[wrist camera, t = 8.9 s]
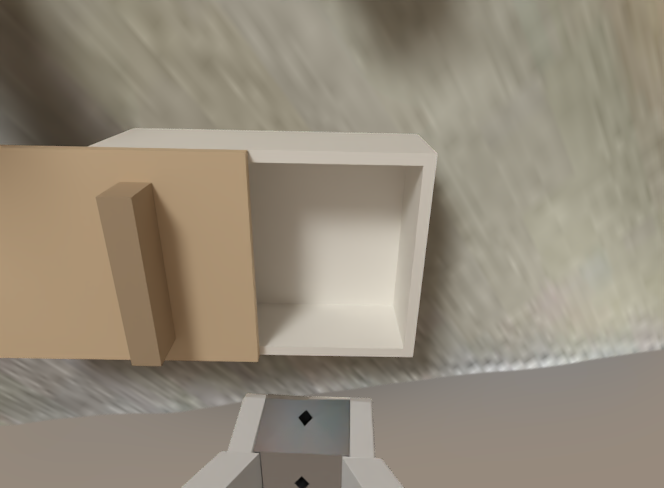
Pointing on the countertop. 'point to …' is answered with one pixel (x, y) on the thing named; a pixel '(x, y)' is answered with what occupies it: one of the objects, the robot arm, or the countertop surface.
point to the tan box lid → (126, 254)
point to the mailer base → (328, 233)
